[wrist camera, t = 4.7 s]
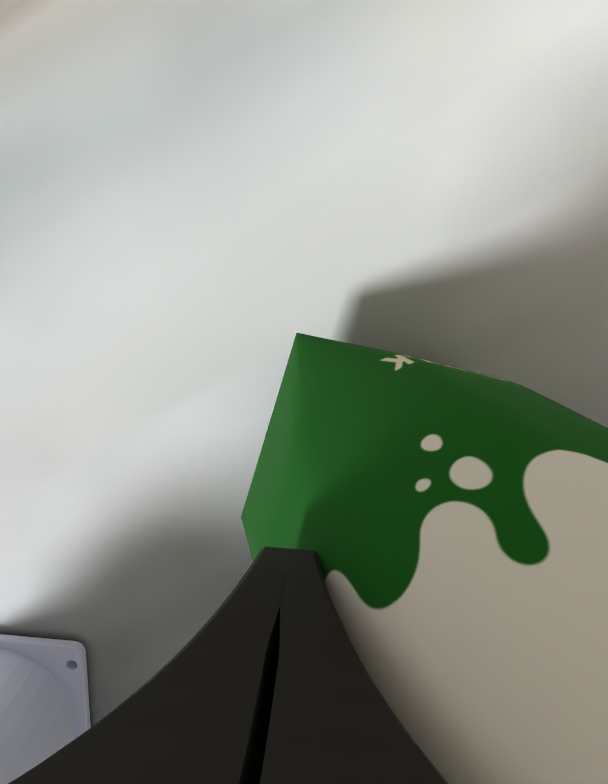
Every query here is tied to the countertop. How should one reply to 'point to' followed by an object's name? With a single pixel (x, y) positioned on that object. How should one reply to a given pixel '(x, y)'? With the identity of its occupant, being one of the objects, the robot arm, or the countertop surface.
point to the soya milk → (451, 552)
